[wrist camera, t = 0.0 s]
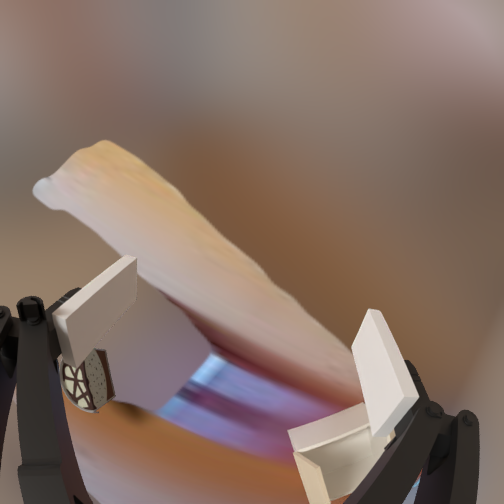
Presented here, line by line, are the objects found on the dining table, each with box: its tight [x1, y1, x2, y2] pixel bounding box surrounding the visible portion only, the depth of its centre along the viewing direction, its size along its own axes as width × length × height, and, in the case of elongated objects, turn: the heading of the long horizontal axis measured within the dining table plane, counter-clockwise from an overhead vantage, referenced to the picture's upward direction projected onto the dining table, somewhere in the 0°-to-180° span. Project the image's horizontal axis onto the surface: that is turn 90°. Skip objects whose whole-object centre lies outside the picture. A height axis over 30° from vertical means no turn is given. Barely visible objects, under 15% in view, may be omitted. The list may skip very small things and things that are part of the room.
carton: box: [288, 402, 391, 501], centre depth 39 cm, size 13×15×10 cm
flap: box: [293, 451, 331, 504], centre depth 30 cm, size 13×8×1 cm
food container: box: [59, 348, 116, 413], centre depth 42 cm, size 12×6×10 cm, turn 12°
